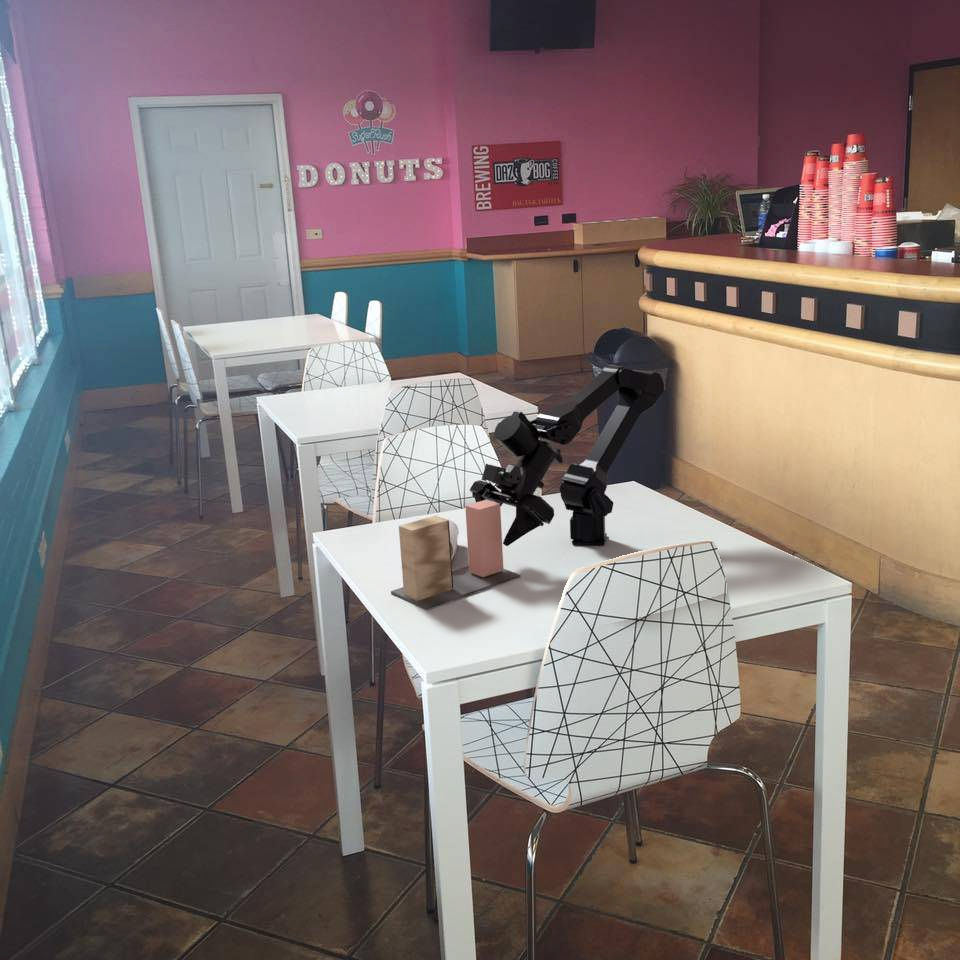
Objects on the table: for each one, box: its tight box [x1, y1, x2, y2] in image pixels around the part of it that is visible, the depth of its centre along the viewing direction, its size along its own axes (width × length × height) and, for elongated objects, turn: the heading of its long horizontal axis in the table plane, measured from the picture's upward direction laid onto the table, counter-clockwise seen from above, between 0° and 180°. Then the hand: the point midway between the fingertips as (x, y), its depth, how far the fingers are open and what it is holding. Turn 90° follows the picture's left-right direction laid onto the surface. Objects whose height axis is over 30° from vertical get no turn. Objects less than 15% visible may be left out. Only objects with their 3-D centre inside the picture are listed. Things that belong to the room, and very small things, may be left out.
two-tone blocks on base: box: [390, 515, 522, 611], centre depth 187 cm, size 22×11×14 cm, turn 129°
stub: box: [464, 500, 505, 577], centre depth 191 cm, size 5×4×13 cm
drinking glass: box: [446, 518, 460, 560], centre depth 204 cm, size 7×7×15 cm
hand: (488, 539), depth 192 cm, fingers open, 9 cm apart
